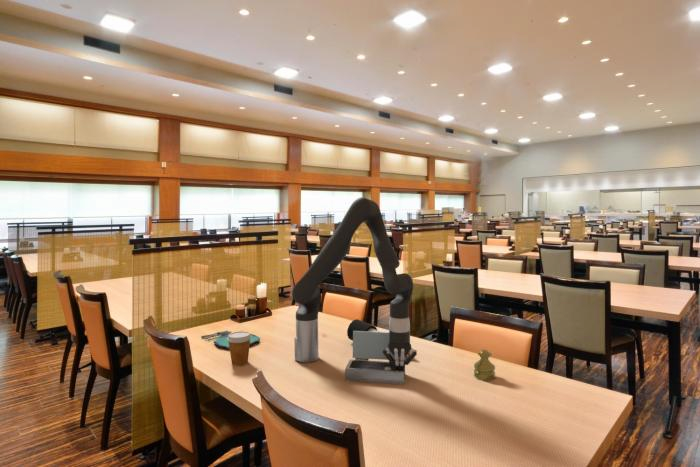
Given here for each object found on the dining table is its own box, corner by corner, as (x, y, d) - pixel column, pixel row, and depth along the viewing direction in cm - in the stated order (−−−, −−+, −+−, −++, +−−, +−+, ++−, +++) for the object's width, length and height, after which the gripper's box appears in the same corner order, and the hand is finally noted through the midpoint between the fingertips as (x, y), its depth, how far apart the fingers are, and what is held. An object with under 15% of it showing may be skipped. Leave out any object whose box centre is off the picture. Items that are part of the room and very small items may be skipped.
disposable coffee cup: (256, 360, 165) (256, 332, 164) (241, 369, 156) (240, 339, 155) (238, 357, 169) (237, 329, 168) (222, 365, 160) (221, 336, 159)
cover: (353, 331, 154) (353, 330, 156) (352, 359, 153) (353, 358, 154) (405, 333, 150) (405, 333, 152) (405, 362, 149) (405, 361, 151)
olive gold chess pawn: (494, 374, 149) (495, 348, 149) (495, 382, 142) (495, 354, 142) (474, 371, 152) (474, 346, 151) (473, 379, 145) (473, 352, 144)
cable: (408, 371, 164) (403, 353, 159) (350, 344, 187) (344, 328, 183) (421, 355, 169) (417, 337, 165) (364, 330, 193) (358, 315, 188)
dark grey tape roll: (380, 380, 145) (380, 370, 144) (382, 374, 150) (382, 365, 149) (393, 381, 144) (393, 371, 143) (395, 375, 148) (395, 366, 148)
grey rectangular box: (345, 380, 145) (345, 368, 144) (349, 370, 154) (349, 359, 154) (403, 384, 141) (403, 372, 141) (405, 374, 150) (405, 362, 150)
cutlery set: (229, 354, 174) (229, 349, 174) (196, 340, 194) (196, 335, 194) (267, 343, 189) (267, 338, 189) (232, 330, 209) (232, 326, 209)
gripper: (418, 326, 147) (418, 372, 148) (382, 325, 150) (382, 370, 151) (417, 332, 140) (418, 380, 141) (380, 330, 142) (380, 378, 143)
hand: (399, 375), depth 146 cm, fingers closed
